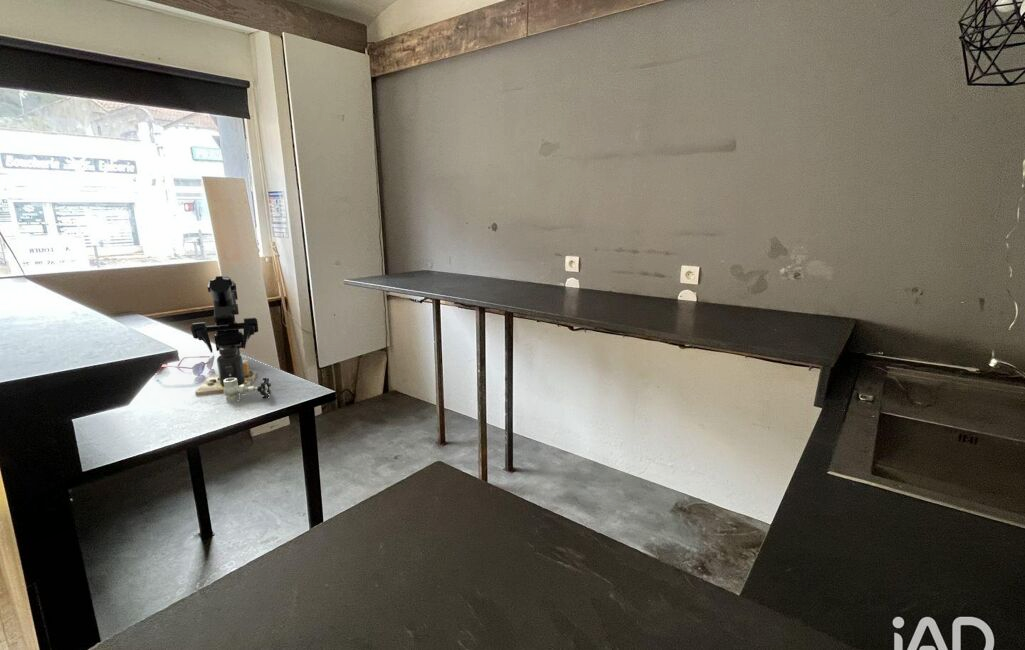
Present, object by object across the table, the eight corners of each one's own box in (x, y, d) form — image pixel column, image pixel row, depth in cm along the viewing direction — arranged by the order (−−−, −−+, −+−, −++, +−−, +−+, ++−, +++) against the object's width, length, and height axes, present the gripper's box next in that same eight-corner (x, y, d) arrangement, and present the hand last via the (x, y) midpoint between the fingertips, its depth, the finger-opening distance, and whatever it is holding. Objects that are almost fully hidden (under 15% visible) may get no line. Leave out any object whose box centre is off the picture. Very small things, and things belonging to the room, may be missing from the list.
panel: (211, 378, 160) (210, 373, 160) (257, 375, 164) (256, 370, 164) (195, 396, 146) (194, 390, 145) (247, 391, 150) (246, 386, 149)
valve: (221, 405, 140) (265, 402, 142) (217, 384, 138) (262, 381, 140) (229, 396, 146) (272, 394, 148) (226, 376, 144) (269, 374, 146)
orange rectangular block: (239, 373, 161) (238, 360, 160) (249, 372, 162) (248, 359, 161) (237, 376, 158) (235, 363, 157) (247, 375, 159) (245, 362, 158)
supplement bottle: (216, 388, 148) (211, 350, 145) (225, 380, 155) (219, 344, 152) (241, 386, 150) (235, 349, 147) (248, 379, 156) (243, 343, 153)
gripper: (186, 298, 151) (189, 341, 145) (253, 293, 160) (259, 334, 154) (192, 317, 160) (195, 358, 154) (255, 312, 169) (261, 350, 162)
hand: (228, 350), depth 156 cm, fingers open, 9 cm apart
